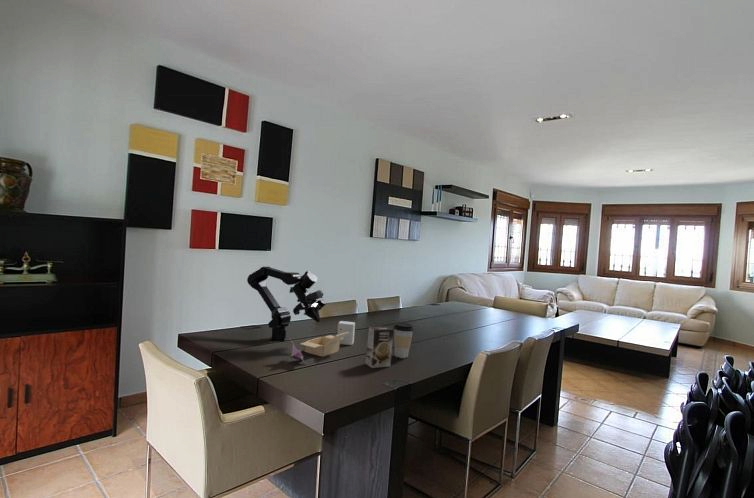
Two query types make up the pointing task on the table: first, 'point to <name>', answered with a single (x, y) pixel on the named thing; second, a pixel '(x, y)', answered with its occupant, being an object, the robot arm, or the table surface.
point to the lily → (296, 353)
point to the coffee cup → (402, 339)
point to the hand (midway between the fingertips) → (319, 321)
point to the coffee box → (379, 347)
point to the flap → (336, 338)
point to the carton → (321, 346)
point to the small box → (344, 328)
